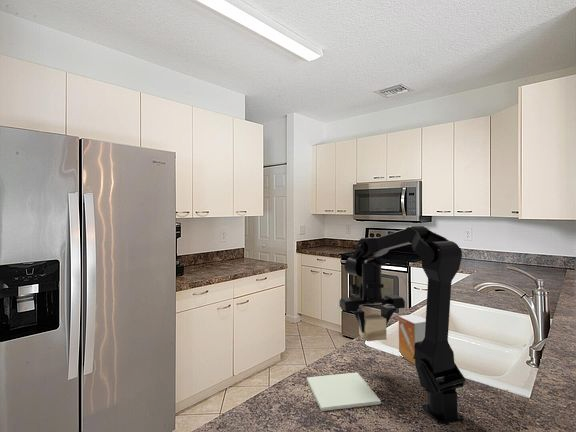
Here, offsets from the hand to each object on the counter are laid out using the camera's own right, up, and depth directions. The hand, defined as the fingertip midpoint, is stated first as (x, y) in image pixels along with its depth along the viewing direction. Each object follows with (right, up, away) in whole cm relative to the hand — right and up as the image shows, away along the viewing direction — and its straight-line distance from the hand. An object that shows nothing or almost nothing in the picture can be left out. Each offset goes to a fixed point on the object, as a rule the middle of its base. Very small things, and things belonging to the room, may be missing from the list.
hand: (372, 331), depth 98 cm
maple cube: (0, -2, 0) cm, 2 cm away
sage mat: (-11, -11, -12) cm, 20 cm away
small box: (+15, -11, +7) cm, 20 cm away
